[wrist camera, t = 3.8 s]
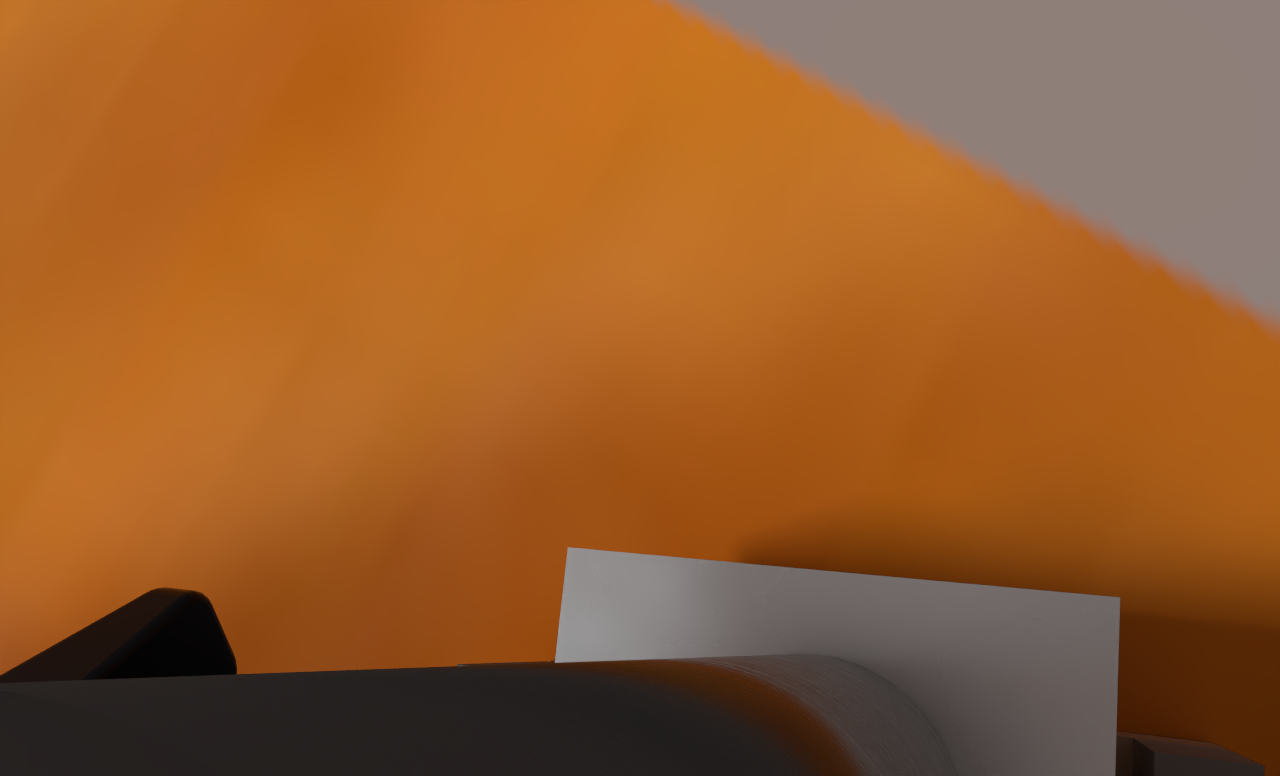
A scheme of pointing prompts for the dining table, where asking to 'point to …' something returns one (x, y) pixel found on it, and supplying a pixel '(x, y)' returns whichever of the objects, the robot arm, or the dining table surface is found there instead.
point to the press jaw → (646, 690)
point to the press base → (1155, 754)
